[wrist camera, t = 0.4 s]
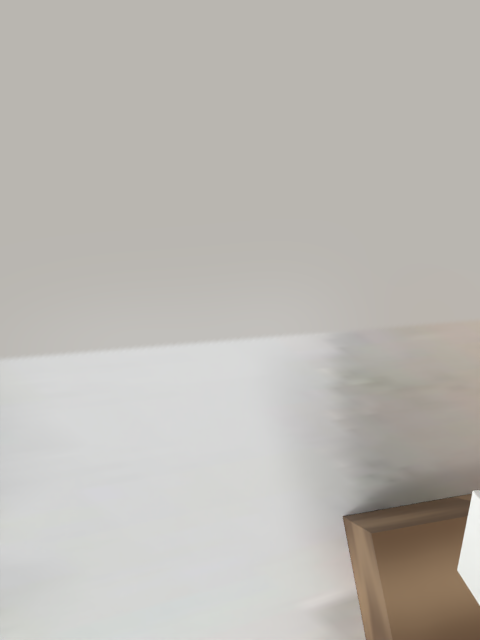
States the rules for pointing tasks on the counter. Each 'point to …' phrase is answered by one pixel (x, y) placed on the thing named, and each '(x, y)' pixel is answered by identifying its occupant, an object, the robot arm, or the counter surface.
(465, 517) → the socket block
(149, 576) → the counter surface
